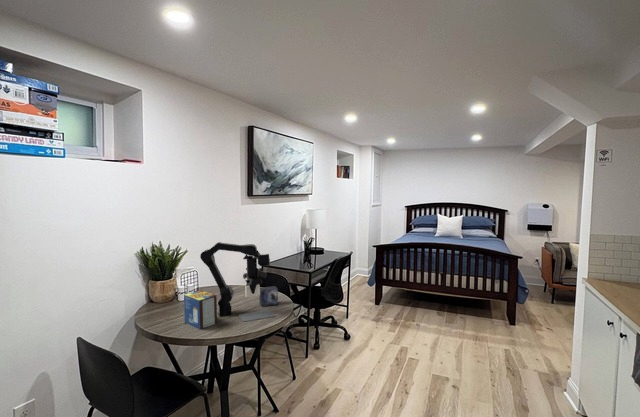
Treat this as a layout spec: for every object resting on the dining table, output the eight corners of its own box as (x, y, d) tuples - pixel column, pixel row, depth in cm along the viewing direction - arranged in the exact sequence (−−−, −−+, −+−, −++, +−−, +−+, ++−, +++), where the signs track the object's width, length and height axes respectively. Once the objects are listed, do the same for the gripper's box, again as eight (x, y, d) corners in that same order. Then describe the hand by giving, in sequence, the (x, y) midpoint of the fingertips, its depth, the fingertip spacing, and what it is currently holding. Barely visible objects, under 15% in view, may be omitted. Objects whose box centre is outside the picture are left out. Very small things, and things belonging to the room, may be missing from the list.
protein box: (201, 317, 190) (201, 290, 190) (217, 323, 180) (217, 295, 180) (184, 322, 182) (183, 294, 181) (199, 330, 172) (199, 299, 172)
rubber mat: (243, 322, 183) (243, 321, 183) (238, 315, 193) (238, 314, 193) (275, 316, 191) (275, 315, 191) (268, 310, 201) (268, 309, 201)
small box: (261, 307, 207) (261, 290, 206) (259, 304, 213) (258, 287, 212) (278, 305, 211) (278, 288, 210) (275, 302, 217) (275, 285, 216)
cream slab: (246, 297, 193) (246, 286, 193) (245, 296, 195) (245, 286, 195) (259, 295, 197) (259, 284, 196) (258, 294, 199) (258, 284, 198)
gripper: (270, 267, 190) (271, 295, 191) (260, 262, 207) (261, 287, 208) (251, 270, 185) (251, 298, 186) (242, 264, 202) (243, 290, 203)
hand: (252, 293), depth 196 cm, fingers closed on cream slab, 2 cm apart
